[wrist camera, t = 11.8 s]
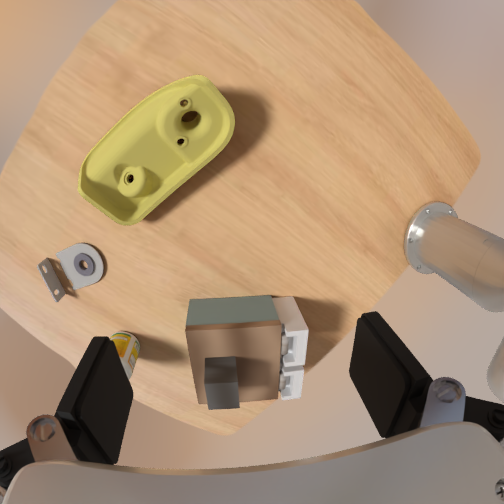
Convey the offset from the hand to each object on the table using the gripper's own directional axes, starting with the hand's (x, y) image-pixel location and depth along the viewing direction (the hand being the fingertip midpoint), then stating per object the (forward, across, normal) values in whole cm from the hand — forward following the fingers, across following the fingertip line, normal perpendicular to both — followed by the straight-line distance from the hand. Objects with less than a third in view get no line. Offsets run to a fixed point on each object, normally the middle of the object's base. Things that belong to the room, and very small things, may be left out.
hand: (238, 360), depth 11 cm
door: (+24, +1, +21) cm, 32 cm away
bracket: (+31, +24, +7) cm, 40 cm away
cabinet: (+31, -1, +21) cm, 37 cm away
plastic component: (+31, +8, -8) cm, 33 cm away
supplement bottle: (+31, +19, +21) cm, 42 cm away
